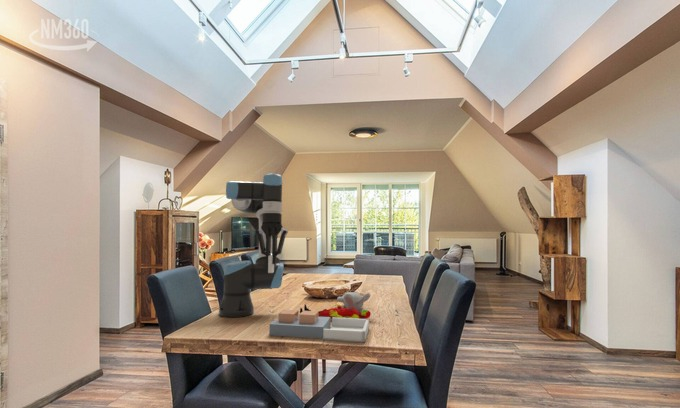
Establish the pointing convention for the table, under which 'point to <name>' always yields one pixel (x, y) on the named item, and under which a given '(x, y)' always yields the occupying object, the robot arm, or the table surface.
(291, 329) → the flat grey box
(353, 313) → the figurine
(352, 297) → the toy
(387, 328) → the table surface
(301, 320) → the tile
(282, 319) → the tile
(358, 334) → the box
